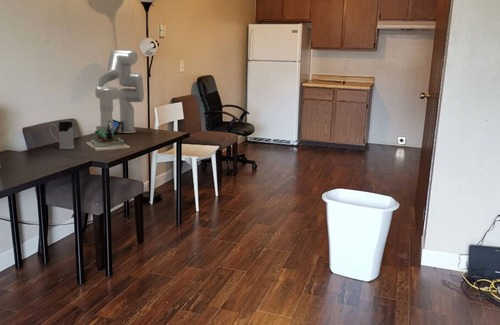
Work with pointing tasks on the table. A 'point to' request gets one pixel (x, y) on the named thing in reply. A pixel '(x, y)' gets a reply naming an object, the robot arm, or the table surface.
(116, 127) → the game console
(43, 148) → the table surface
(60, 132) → the grey pitcher
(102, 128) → the food container
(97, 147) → the stand
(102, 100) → the robot arm
